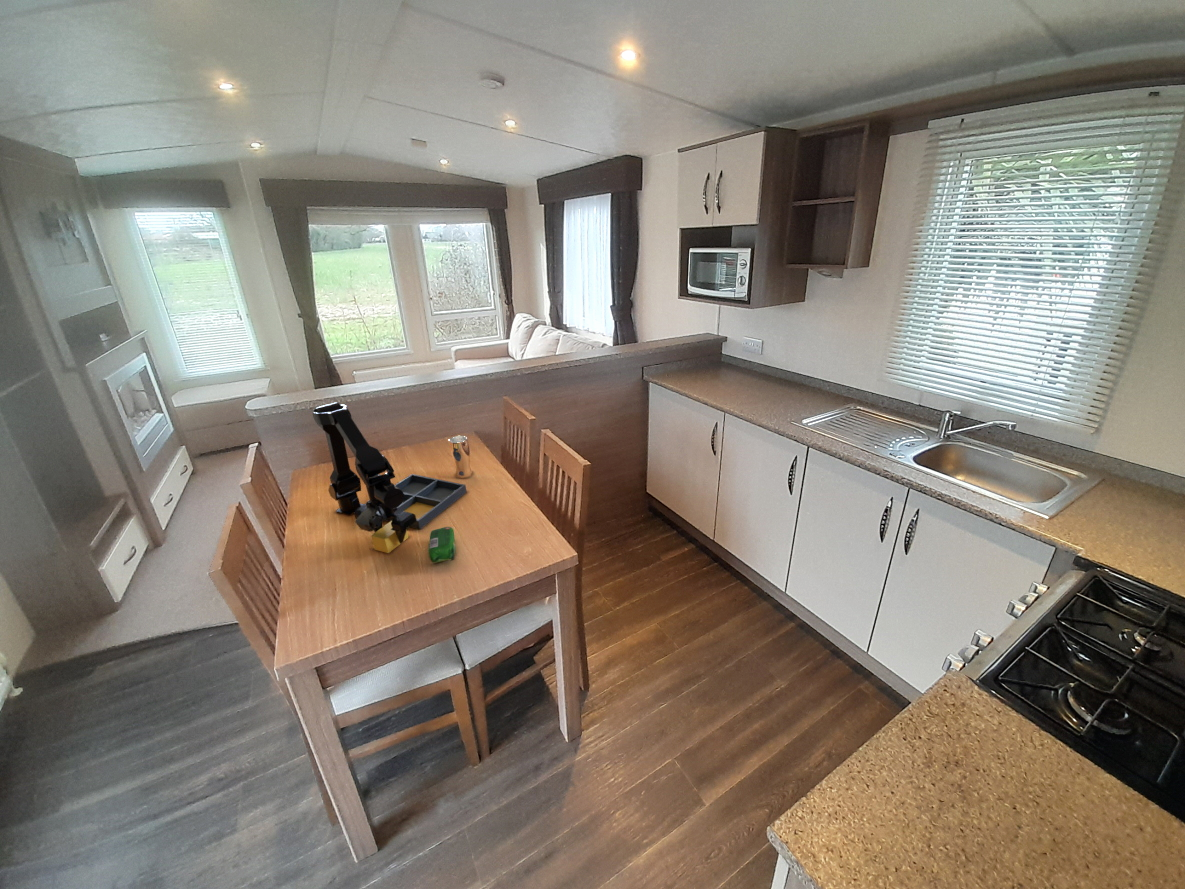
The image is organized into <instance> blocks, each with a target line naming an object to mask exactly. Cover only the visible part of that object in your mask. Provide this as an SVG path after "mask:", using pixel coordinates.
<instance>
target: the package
mask: <svg viewBox="0 0 1185 889" xmlns="http://www.w3.org/2000/svg"><path fill="white" fill-rule="evenodd" d="M391 522H392V521H390V522H389V521H388V522H387V523H386V524H385V525H382V528H381V529H379V530H378V531H377V532H374V533H372V534H371V535H370V538H371V542H372V545H373V550H375V551H379V552H382V553H386V554H390V553H391V552H392V551H394V550H395V549H396V548H397V547H398V546H400V545H401V544H402V543H399V541H398V538H397V535H396V532H395V531H394V530H391V529H392V528H393V527H392V526H391ZM409 537H410V536H409V533H408V530H407V531H406V534H405V537H404V541H403V542H405V541H406V540H407V539H408V538H409Z"/></svg>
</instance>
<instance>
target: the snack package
mask: <svg viewBox="0 0 1185 889" xmlns="http://www.w3.org/2000/svg"><path fill="white" fill-rule="evenodd" d="M455 538H456V537H455V532H454V528H453V527H452V526H444V527H443V526H442V527H440V528H435V529H433V530H431V531H430V533H429V540H428V555H429V559H430V562H432V563H434V564H436V563H437V564H438V563H441V562H445V561H449V560H450V561H454V560H455V553H456V545H455V544H456V543H455V540H456V539H455Z"/></svg>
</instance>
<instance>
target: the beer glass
mask: <svg viewBox="0 0 1185 889" xmlns="http://www.w3.org/2000/svg"><path fill="white" fill-rule="evenodd" d="M448 441H449V442H448V443H449V451H450V455H451V458H452V461H453V463H454V467H455V477H456V478H458V479H466V478H470V477H471V476H472V475H473V471H472V468H471V465H470V464H471V463H470V462H471V461H470V459H471V450H470V445H469V440H468V437H467V436H466V435H455V436H452V437H450V438H449V439H448Z"/></svg>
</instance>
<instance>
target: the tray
mask: <svg viewBox="0 0 1185 889" xmlns="http://www.w3.org/2000/svg"><path fill="white" fill-rule="evenodd" d="M394 486H396V487H397V488H399V489H400V490H402V492H403V493H404V500H403V502H402V504H401V505H400V506H398V507H397V511H395V512H394V514H398V515H399V514H400V513H402V512H403V511H404V512H409V513H413V514H415V516H416V522H415V523H413V524H412V525H411V526H409V527H408V528H412V529H418V530H421V529H423V528H424V527H425V526H427V525H428V524H429V523H430V522H431V521H433V520H434V519H435V518H436V517H438V516H439V515H441V513H443V512H444V511H445V510H447V509H448V508H449V507H451V506H452V505H453V504H454V503H455V502H456V501H457V500H459V499H460V498H462V497H463V496H464V495H466V493H467V492H468V491H467V485H466V484H465V483H464V484H463V483H460V482H454V481H449V480H445V479H438V478H434V477H429V476H425V475H420V474H414V473H411V474H409V475H408V476H407V477H405V478H403V479H402V480H400V481H399V482H397V483H395V484H394ZM384 521H386V522H388V523H389V522H390V520H384Z"/></svg>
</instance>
